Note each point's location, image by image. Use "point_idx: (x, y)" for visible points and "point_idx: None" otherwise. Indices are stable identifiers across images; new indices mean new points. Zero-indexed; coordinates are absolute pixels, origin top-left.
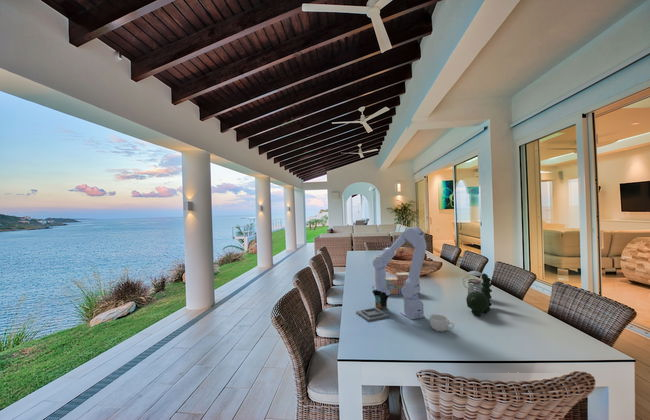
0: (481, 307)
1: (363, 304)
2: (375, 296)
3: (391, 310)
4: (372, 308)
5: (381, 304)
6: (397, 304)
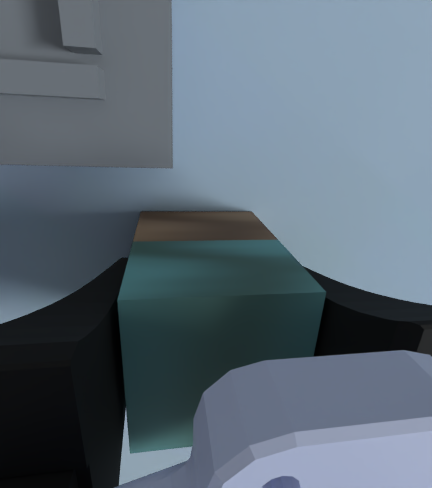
0: None
1: (421, 121)
2: (307, 281)
3: None
4: (63, 18)
5: None
6: None
